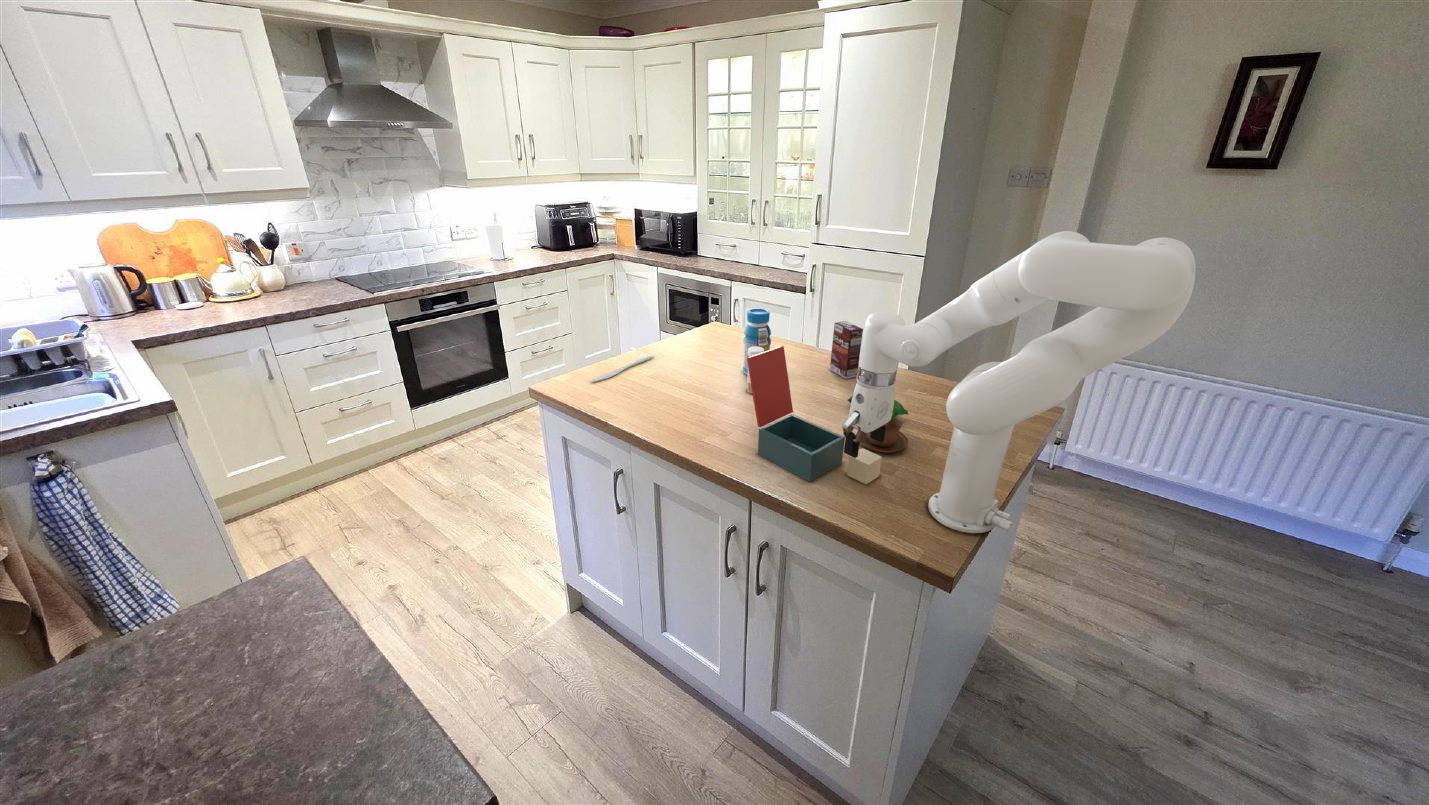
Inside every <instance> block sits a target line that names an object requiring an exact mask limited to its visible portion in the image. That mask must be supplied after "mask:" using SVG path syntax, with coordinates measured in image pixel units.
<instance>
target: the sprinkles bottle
mask: <svg viewBox="0 0 1429 805" xmlns="http://www.w3.org/2000/svg"><path fill="white" fill-rule="evenodd" d="M762 352H764V349H763V348H762V347H757V346H754V347H750V348H749V349H748V357H750V356H753V355H756V354H759V353H762ZM746 392H747V393H748V394H750V395H753V394H752V387H751V381H750V375H749V369H748V375H747V389H746Z"/></svg>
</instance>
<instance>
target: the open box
mask: <svg viewBox="0 0 1429 805" xmlns="http://www.w3.org/2000/svg"><path fill="white" fill-rule="evenodd" d="M845 439H846V438H845V437H844V435H841V434H838V433H836V432H834V431H832V430H829V429H827V428H825V427H823V426H821V425H819V424H815V423H813V422H811V421H809V420H807V419H805V418H802V417H800V416H798V415H796V414H793V413H790V414H788V415H786V416H784V417H781V418H779V419H777V420H775V421H773V422H770V423H768V424H766V425H764V426H762V427H759V428H758V439H757V440H758V441H757V455H759V456H761V457H763V458H764V459H766V460H768V461H769V462H771V463H774V464H775V465H777V466H779V467H781V468H783V469H785V470H786V471H788V472H790V473H792V474H794V475H796V476H797V477H799V478H801V479H803V480H805V481H806V482H809V483H810V482H812V481H814V480H816V479H817V478H819V477H821V476H822V475H824V474H826V473H827V472H829V471H831V470H834V468H836V467H838V466H839V465H841V464H842V463H843V456H844V446H845Z"/></svg>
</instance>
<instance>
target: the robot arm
mask: <svg viewBox="0 0 1429 805" xmlns="http://www.w3.org/2000/svg"><path fill="white" fill-rule="evenodd" d="M1196 266H1197V264H1196V258H1195V255H1194V253H1193V251H1192V249H1191V248H1190V247H1189V245H1188V244H1186V243H1185V242H1183V241H1181V240H1179V239H1176V238H1174V237H1173V238H1172V237H1166V236H1165V237H1162V236H1161V237H1153V238H1150V239H1146V240H1144V241H1142V242H1139V243H1137V244H1136V245H1127V244H1112V243H1101V242H1092V241H1091V240H1089V239H1088V238H1087V236H1085V235H1083V234H1081V233H1079V232H1077V231H1072V230H1063V231H1057V232H1055V233H1052V234H1049V235H1047V236H1046V237H1044V238H1042V239H1040V240H1039V241H1037V242H1036V243H1034V244H1033V245H1031V246H1030V247H1028V248H1027V249H1026V250H1023V251H1022V252H1021V253H1019V254H1017V255H1016V256H1014V257H1012V258H1011V259H1010V260H1008V261H1007V262H1005V263H1003V264H1002V265H1000V266H999V267H997V268H995V269H994V270H992V271H991V272H989V273H988V274H986V275H984V276H983V277H981V278H980V279H977V281H975V282H974V283H972V284H971V285H970V287H969V288H968V289H967V290H966V291H965V292H964V293H962V294H961V295H959V296H958V297H956V298H954V299H953V300H952V301H950V302H949V303H947V304H945V305H944V306H942V307H941V308H939V309H937V310H935V311H933V312H932V313H930V314H929V315H927V316H926V317H924V318H922V319H920V320H919V321H917V322H915V323H913V324H909V325H906V322H905V320H904V318H903V317H902V316H900V315H897V314H894V313H891V312H874V313H871V314H869V316H867V317H866V319H865V322H864V328H863V334H862V342H861V349H860V357H859V365H858V372H857V377H856V384H855V387H854V390H853V393H852V395H853V397H852V401H851V403H850V406H849V411H848V418H847V419H846V421H845V422H844V423H843V424H842V427H841V428H842V431H843V437H845V441H844V449H843V454H846V455H848V456H852V457H854V458H857V457H858V452H859V450H860V446H861V443H860V441H858V440H859V438H860V437H861V435H862V433H863V432H864V433H869V432H871V433H870V438H872V439H874V440H876V441H879V442H881V443H882V442H883V441H884V437H885V432H886V426H887V425H888V422H889V421H890V420H891V418H892V413H893V406H894V400H895V398H896V397H895V396H896V378H897V372H898V369H899V363H900V364H903V365H905V366H907V367H911V368H923V367H925V366H927V365H929V364H930V363H932V362H933V361H934V360H935V359H936V358H937V357H939V356H940V355H943V353H944V352H946V351H948V350H949V349H951V348H952V347H954V346H956V345H957V344H959V343H960V342H962V341H964V340H967V339H968V338H969V337H972V336H974V335H975V334H977V333H980V332H981V331H982V330H984V329H985V330H986V329H987V328H990V327H994V326H995V327H996V326H997V327H998V326H1001V325H1005V324H1006V323H1008V322H1010V321H1011V320H1014V319H1015V318H1017V317H1019V316H1021V315H1022V314H1024V313H1027V312H1029V311H1030V310H1031V309H1034V308H1036V307H1037V306H1040V304H1042V303H1044V302H1047V301H1048V300H1052V301H1057V302H1063V303H1069V304H1074V305H1082V306H1089V307H1095V308H1093V309H1092V310H1090V311H1088V312H1086V313H1084V314H1083V315H1082V316H1079V317H1078V318H1075V319H1073V320H1072V321H1070V322H1068V323H1065V324H1064V325H1062V326H1060V327H1058V328H1056V329H1054V330H1052V331H1049V332H1047V333H1046V334H1043V335H1041V336H1039V337H1036V338H1034V339H1032V340H1030V341H1029V342H1028V343H1027V344H1025V346H1024V347H1023V348H1021V349H1020V351H1019V352H1018V353H1017V354H1015V355H1014V356H1012V357H1010V358H1008V359H1006V360H1004V361H989V362H985V363H983V364H980V365H978V366H977V367H975V368H974V369H972V370H971V371H970V372H969V373H968V374H967V375H965V376H964V377H963V378H962V380H961V381H960V382H959V383H957V384H956V385H955V387H953V389H952V390H951V391H950V393H949V395H948V397H947V399H946V404H945V411H946V415H947V418H948V420H949V422H950V424H951V425H952V426H953V429H952V435H951V439H950V443H949V448H948V451H947V452H948V453H947V457H946V461H945V466H944V469H943V476H942V479H941V483H940V488H939V492H936V493H934V494H933V495H932V496H930V498H929V499H928V504H927V507H928V511H929V513H930V515H931V516H932V517H933V518H934V519H935V520H936V521H937V522H939V523H940V524H941V525H943V526H944V527H947V528H949V529H951V530H954V531H957V532H961V533H965V534H966V533H967V534H982V533H983V534H984V533H987V532H990V531H991V530H993V529H995V527H998V528H1000V529H1001V530H1004V531H1006V532H1010V531H1011V529H1012V526H1013V521H1011V520H1010V519H1011V517H1012V516H1011V514H1009V513H1007V512H1005V511H1002V510H1000V508H998V503H999V500H998V499H996V498H995V496H996V492H997V488H998V485H999V480H1000V478H1001V473H1002V470H1003V467H1004V464H1005V463H1004V462H1005V459H1006V456H1007V452H1008V449H1009V445H1010V441H1011V438H1012V435H1013V431H1014V428H1015V425H1016V424H1018V423H1021V422H1023V421H1025V420H1028V419H1030V418H1032V417H1036V416H1037V415H1040V414H1042V413H1044V412H1046V411H1048V410H1051V409H1053V408H1054V407H1057V406H1058V405H1060V404H1061V403H1063V402H1064V401H1065V400H1067V399H1068V398H1069V397H1070V396H1071V395H1072V394H1073V393H1074V391H1075V389H1077V386H1078V385H1079V383H1080V382H1081V381H1082V380H1083V379H1084V378H1086V377H1088V376H1090V375H1092V374H1093V373H1096V372H1098V371H1100V370H1102V369H1104V368H1106V367H1108V366H1111V365H1113V364H1115V363H1117V362H1119V361H1120V360H1122V359H1125V358H1126V357H1128V356H1131V355H1133V354H1134V353H1137V352H1138V351H1140V350H1142V349H1144V348H1145V347H1147V346H1149V345H1150V344H1152V343H1153V342H1155V341H1156V340H1158V339H1159V338H1160V337H1162V336H1163V335H1164V334H1165V333H1166V332H1167V331H1168V330H1170V328H1171V327H1173V325H1174V324H1175V323H1176V321H1177V320H1178V319H1179V318H1180V316H1181V314H1182V313H1183V312H1184V310H1185V308H1186V307H1187V306H1188V303H1189V302H1190V299H1191V297H1192V294H1193V291H1194V286H1195V282H1196V273H1197V272H1196V270H1197V269H1196ZM857 424H858V425H857ZM854 429H855V430H856V433H854Z"/></svg>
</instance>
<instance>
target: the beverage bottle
mask: <svg viewBox="0 0 1429 805" xmlns="http://www.w3.org/2000/svg"><path fill="white" fill-rule="evenodd" d="M746 321H747V323H748V324H746V327H745V328H744V332H743V333H744V338H743V367H742V371H743V373H744V374H745V375H747V376H748V362H747V358H748V349H749V348H750V347H754V346H757V347H762V348H763V349H764V352H765V351H768V350H771V344H772V339H771V335H772V331H771V328H770V325H769V324H768V323H769V322H770V311H769V310H768V309H766V308H761V307H759V308H750V309H748V310H747V313H746Z"/></svg>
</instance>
